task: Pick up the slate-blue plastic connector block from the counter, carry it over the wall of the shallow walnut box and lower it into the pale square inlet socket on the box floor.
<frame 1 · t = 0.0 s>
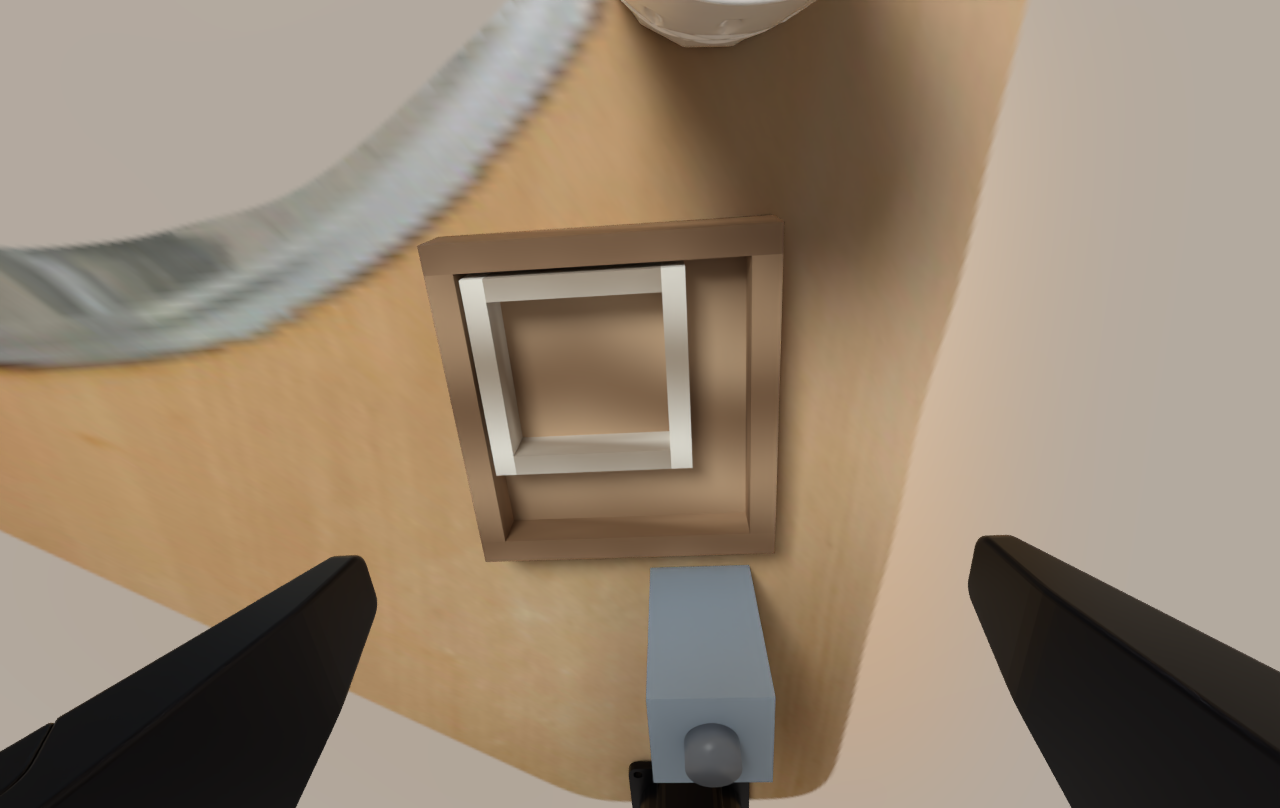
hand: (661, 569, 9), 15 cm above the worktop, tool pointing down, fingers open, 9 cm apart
connector: (700, 604, 28), on the worktop
walnut box: (618, 394, 24), on the worktop
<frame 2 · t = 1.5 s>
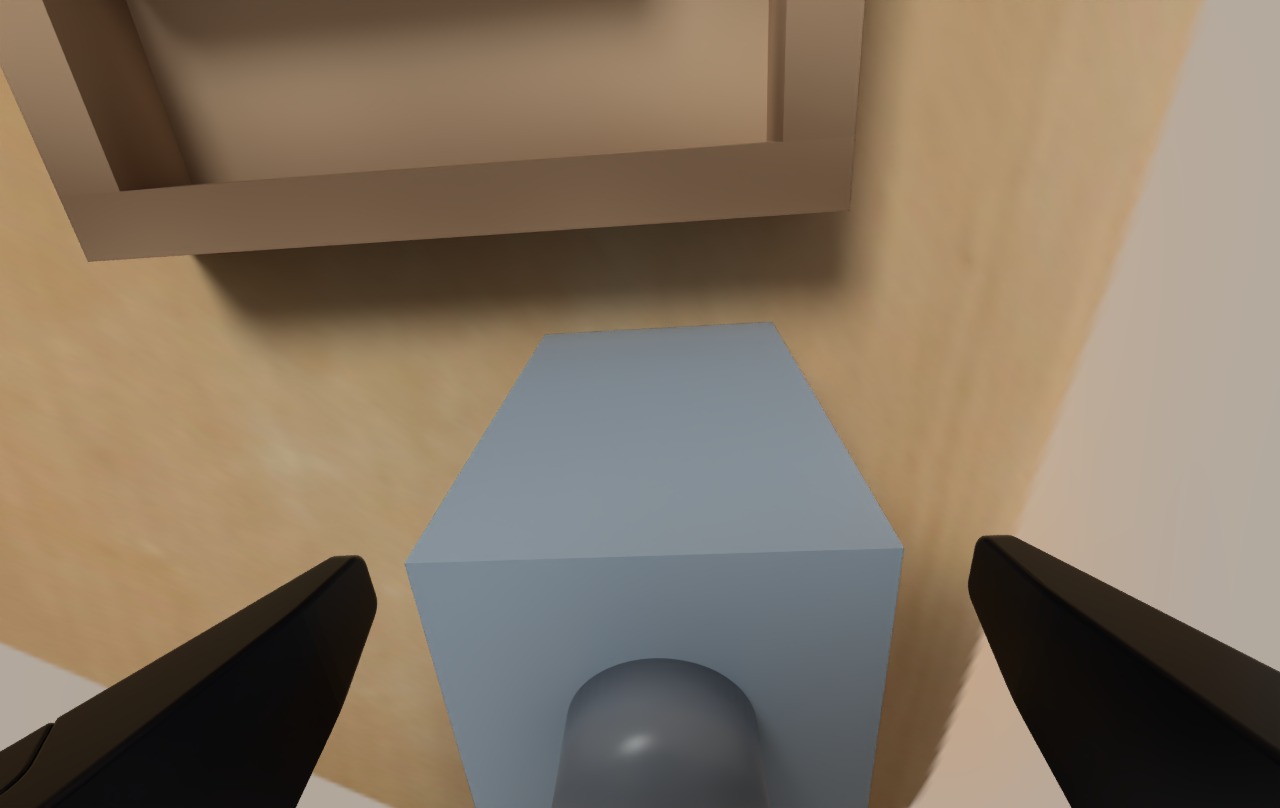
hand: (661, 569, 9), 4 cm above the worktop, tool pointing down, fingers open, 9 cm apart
connector: (663, 429, 13), on the worktop
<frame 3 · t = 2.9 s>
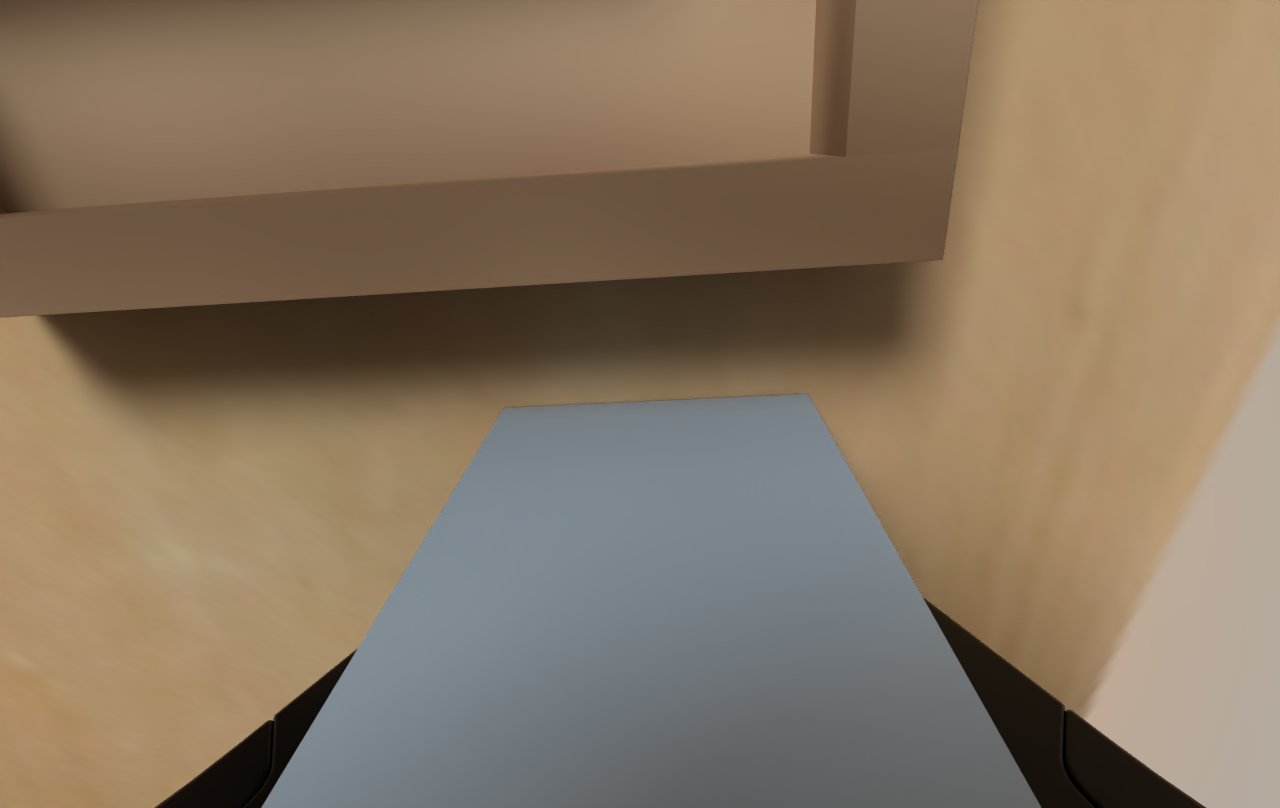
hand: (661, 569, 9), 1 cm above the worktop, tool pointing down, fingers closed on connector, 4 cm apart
connector: (661, 526, 10), on the worktop, touching gripper
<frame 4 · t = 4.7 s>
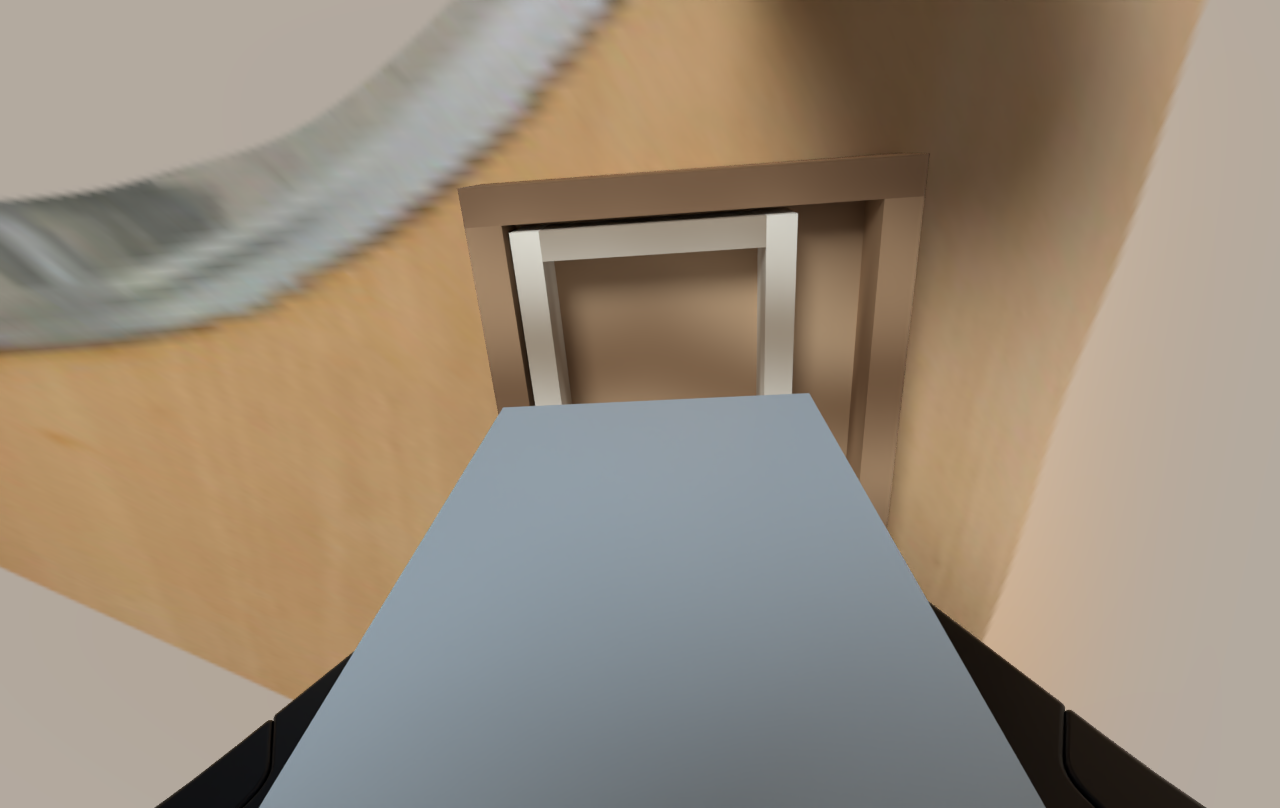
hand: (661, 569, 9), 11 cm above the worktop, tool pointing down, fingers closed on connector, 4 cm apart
connector: (661, 527, 10), point 10 cm above the worktop, touching gripper
walnut box: (693, 380, 19), on the worktop
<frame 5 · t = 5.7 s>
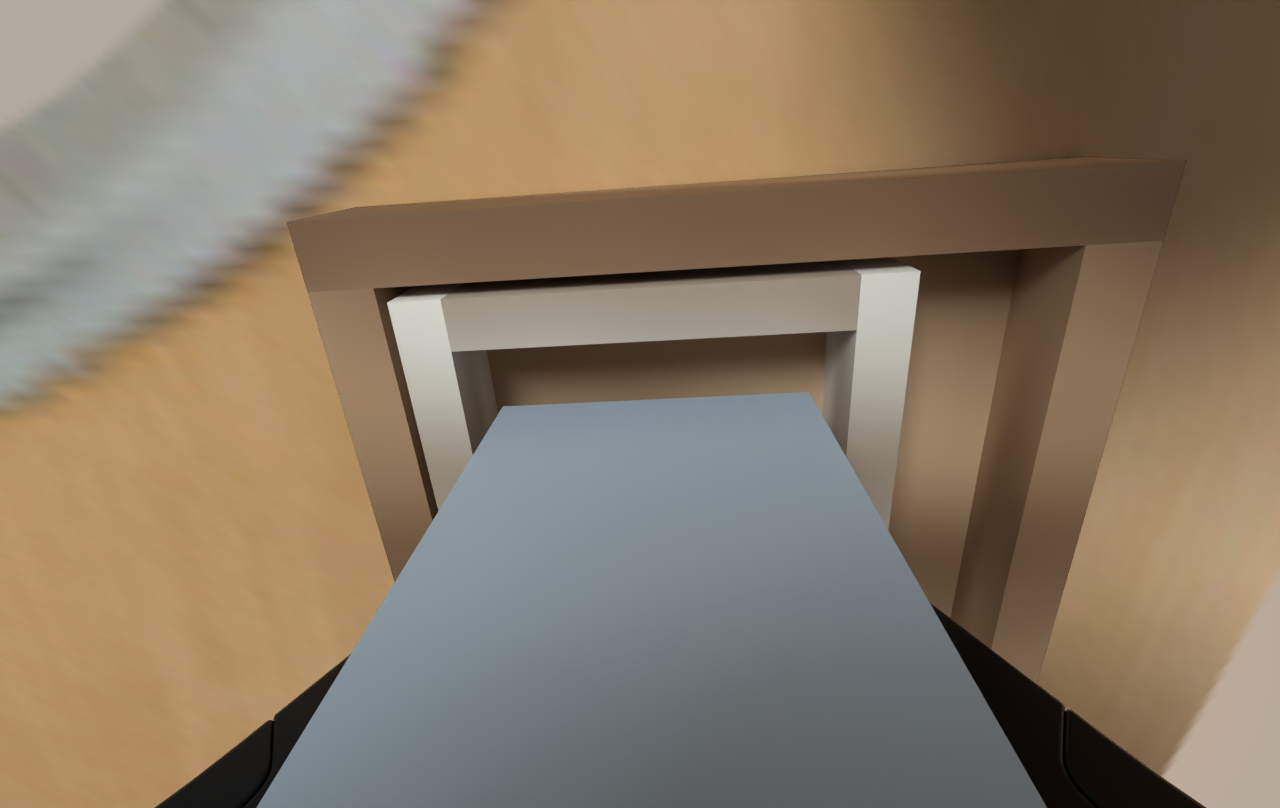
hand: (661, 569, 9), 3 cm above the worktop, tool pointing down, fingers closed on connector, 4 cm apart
connector: (661, 526, 10), point 2 cm above the worktop, touching gripper
walnut box: (712, 512, 12), on the worktop
when the fingers open (3 cm above the worktop, at t = 6.6 s): connector drops 1 cm, resting on walnut box.
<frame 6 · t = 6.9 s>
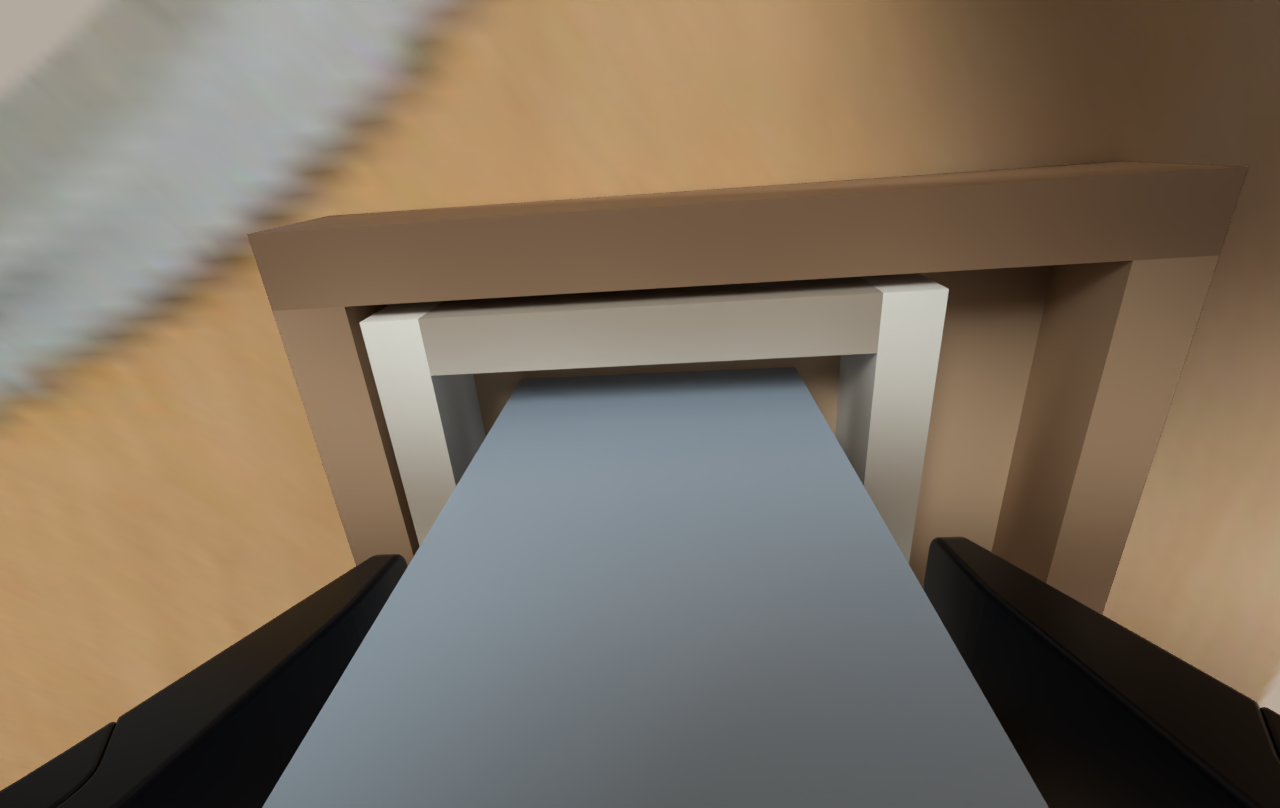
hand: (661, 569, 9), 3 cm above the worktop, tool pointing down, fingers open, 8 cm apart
connector: (662, 489, 11), resting on walnut box
walnut box: (716, 539, 12), on the worktop
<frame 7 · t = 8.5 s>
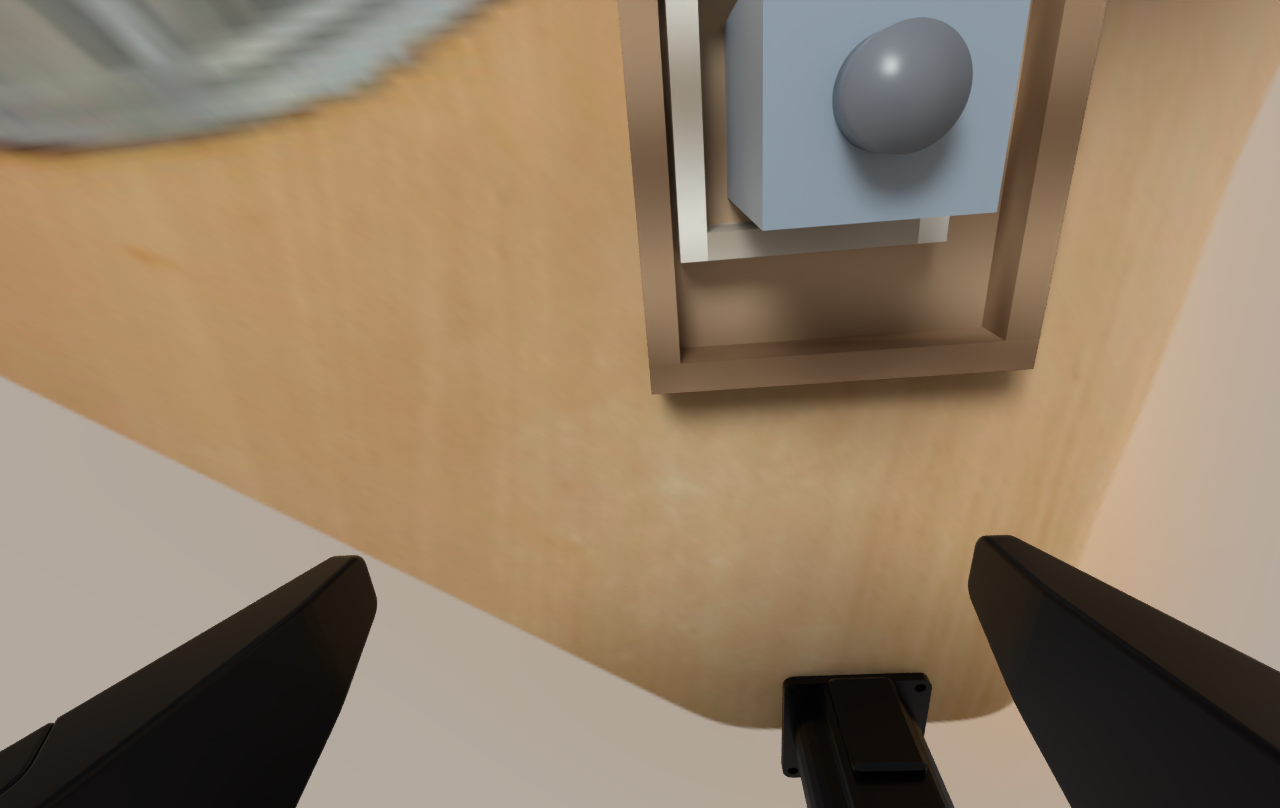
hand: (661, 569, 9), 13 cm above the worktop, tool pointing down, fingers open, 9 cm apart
connector: (804, 108, 17), resting on walnut box
walnut box: (831, 161, 18), on the worktop
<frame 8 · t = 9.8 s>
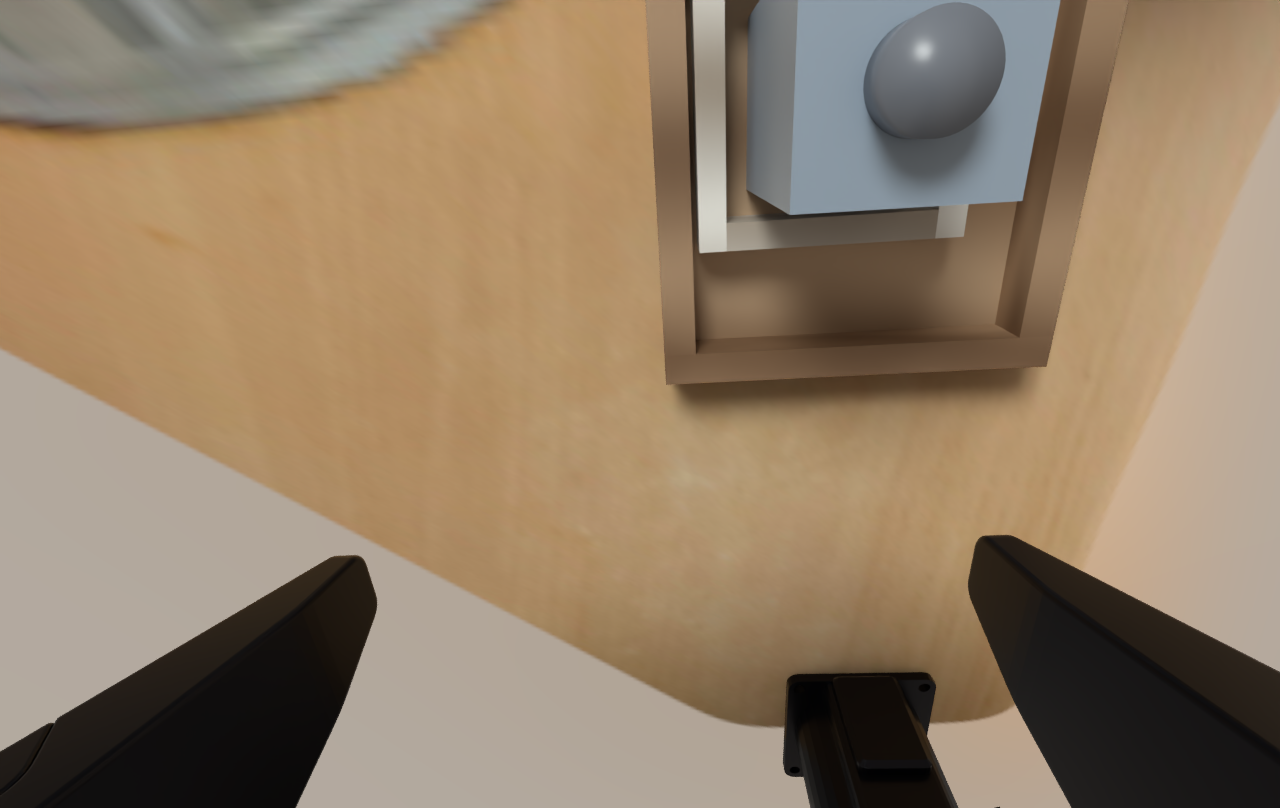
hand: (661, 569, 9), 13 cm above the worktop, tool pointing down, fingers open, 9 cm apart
connector: (824, 102, 17), resting on walnut box
walnut box: (850, 155, 18), on the worktop
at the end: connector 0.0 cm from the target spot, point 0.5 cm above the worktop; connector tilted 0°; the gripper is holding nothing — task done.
